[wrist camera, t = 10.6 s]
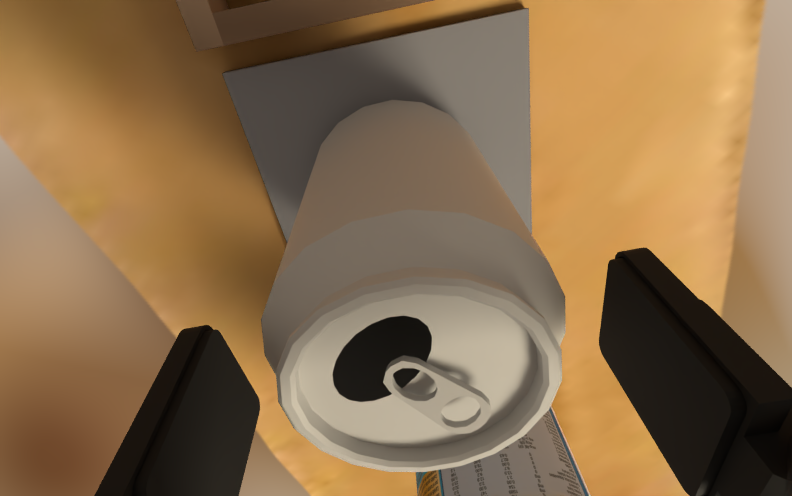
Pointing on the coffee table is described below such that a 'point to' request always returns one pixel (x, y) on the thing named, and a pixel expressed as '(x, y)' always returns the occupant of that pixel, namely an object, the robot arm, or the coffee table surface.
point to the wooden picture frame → (270, 17)
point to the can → (411, 300)
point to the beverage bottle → (514, 469)
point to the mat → (393, 80)
